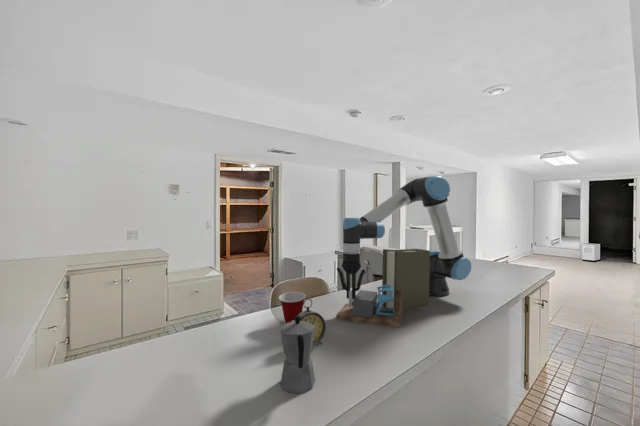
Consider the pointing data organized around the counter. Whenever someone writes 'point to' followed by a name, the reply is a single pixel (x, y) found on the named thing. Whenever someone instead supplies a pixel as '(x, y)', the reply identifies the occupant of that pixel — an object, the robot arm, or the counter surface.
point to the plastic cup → (292, 304)
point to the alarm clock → (314, 323)
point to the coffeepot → (297, 356)
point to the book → (407, 277)
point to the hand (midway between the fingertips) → (351, 305)
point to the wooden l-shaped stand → (347, 314)
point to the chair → (384, 300)
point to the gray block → (365, 304)
